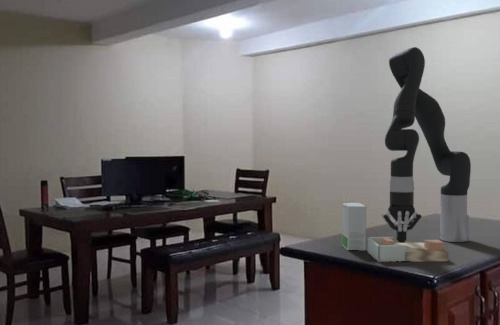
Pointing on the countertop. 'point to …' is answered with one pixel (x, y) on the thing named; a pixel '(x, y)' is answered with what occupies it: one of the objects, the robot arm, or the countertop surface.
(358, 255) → the countertop surface
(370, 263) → the countertop surface
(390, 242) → the tile
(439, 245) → the tile
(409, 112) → the robot arm
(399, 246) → the box
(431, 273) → the countertop surface
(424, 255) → the board
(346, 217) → the skincare box
